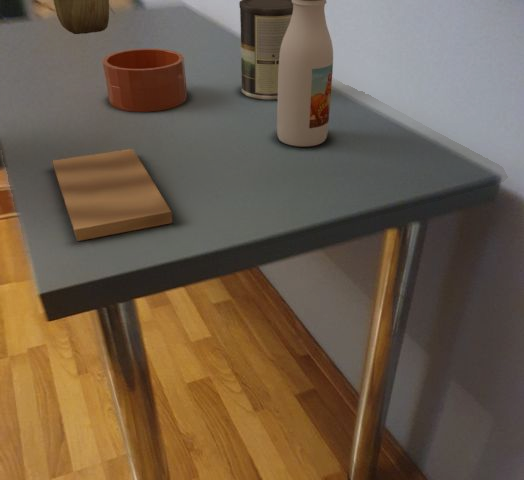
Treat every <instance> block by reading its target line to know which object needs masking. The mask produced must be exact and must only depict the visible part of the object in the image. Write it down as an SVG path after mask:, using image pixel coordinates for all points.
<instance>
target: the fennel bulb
mask: <svg viewBox="0 0 524 480" xmlns="http://www.w3.org/2000/svg"><path fill="white" fill-rule="evenodd" d="M53 5H54V9H55V13H56V16H57V19H58V21H59V23H60V24H61V26H62V27H63V29H65V30H66V31H68V33H71V34H73V35H83V34H85V35H86V34H87V35H88V34H91V33H100V32H104V31H105V30H106V29H107V28H108V26H109V21H110V0H53Z"/></svg>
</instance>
